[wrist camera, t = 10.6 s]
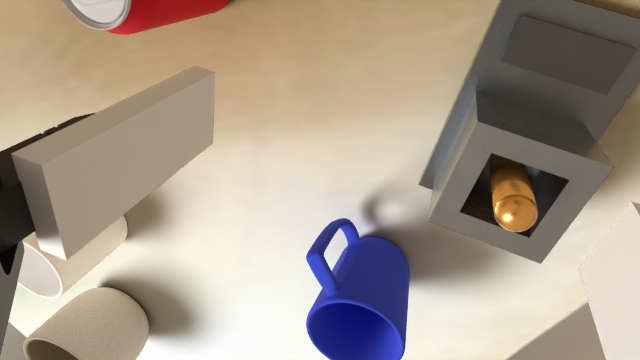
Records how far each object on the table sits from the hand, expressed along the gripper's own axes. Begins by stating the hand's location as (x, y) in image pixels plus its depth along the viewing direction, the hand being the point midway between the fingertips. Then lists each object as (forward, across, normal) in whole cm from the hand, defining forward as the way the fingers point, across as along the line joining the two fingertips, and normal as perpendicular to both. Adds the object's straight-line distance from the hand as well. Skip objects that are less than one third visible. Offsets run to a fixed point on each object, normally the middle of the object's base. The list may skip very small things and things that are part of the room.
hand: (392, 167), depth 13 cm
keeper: (+20, +8, -4) cm, 22 cm away
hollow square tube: (+19, +8, -7) cm, 21 cm away
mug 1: (+19, -32, -29) cm, 48 cm away
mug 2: (+20, 0, -20) cm, 28 cm away
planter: (+19, -31, -48) cm, 60 cm away
